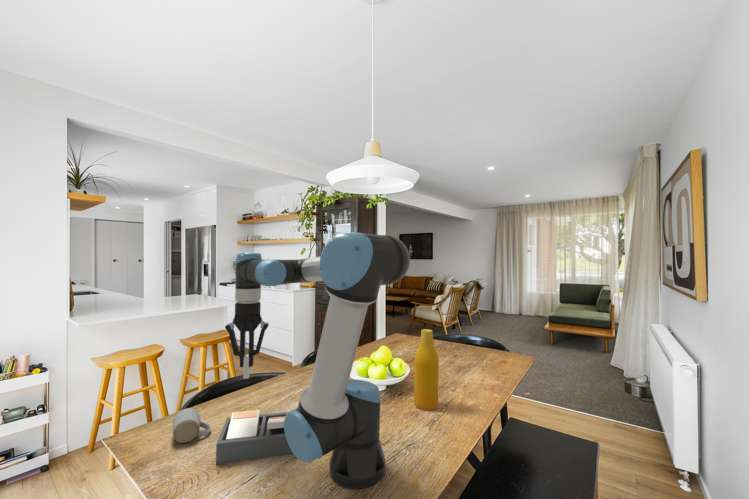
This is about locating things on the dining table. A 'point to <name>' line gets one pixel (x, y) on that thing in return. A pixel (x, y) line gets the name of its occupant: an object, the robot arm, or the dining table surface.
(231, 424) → the breaker rocker
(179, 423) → the ceramic mug
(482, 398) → the dining table surface
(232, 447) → the grey divided tray
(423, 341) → the beer bottle
